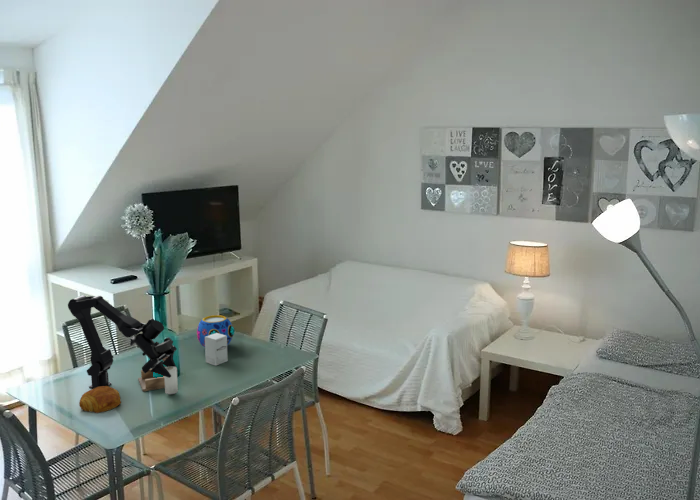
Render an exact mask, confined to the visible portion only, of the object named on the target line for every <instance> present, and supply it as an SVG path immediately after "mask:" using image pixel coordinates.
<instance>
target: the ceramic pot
mask: <svg viewBox="0 0 700 500" xmlns="http://www.w3.org/2000/svg"><path fill="white" fill-rule="evenodd" d="M215 333H219V334H223V335H226V336H227V346H228V345H230V343H231V341H232V340H233V336H234V335H235V328H234V326H233V324H232V322H231V321H230V319H229V318H228V317H227V316H224V315H220V314H219V315H216V314H214V315H209V316H205V317H203V318H201V320H200V321H199V323H198V326H197V328H196V338H197V341H198V342H199V343H200V345H201V346H202V347H203V348H205V337H206V336H209V335H212V334H215Z"/></svg>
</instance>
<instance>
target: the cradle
mask: <svg viewBox="0 0 700 500" xmlns="http://www.w3.org/2000/svg"><path fill="white" fill-rule="evenodd" d="M151 370H152V369H150V371H151ZM150 371H148V372H147V373H146V374H145V373H144V372H143V371H142V369H140V376H141V377H138V378H137V381H138V383H139V385H140V388H141V391H142V392H148V391H154V390H156V391H157V390H160V389H165V379H164V376H163V377H157V378H155V377H153V372H150Z"/></svg>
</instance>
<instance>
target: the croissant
mask: <svg viewBox="0 0 700 500" xmlns="http://www.w3.org/2000/svg"><path fill="white" fill-rule="evenodd" d="M120 404H122V401H121V395H120V392H119V391H118V390H117V389H115V388H114V387H111V386H110V385H109V386H100V387H97V388H90V390H89V389H88V390H87V391H86V392H84V393H83V394H82V395H81V398H80V400H79V404H78V405H79V407H80V408H81V410H82V411H85V412H91V413H92V412H93V413H95V414H99V413H104V412H108V411H111V410H113V409H115V408H117V407H118V406H120Z"/></svg>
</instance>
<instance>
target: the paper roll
mask: <svg viewBox="0 0 700 500" xmlns="http://www.w3.org/2000/svg"><path fill="white" fill-rule="evenodd" d="M164 367H165V368H166V369H167V371H168V372H169V373H170V375H171V377H170V378H169V377H166V376H164V379H165V388H164V393H165V394H166V395H175V394H177V393H178V391H179V389H178V387H179V385H178V372H177V370H178V368H177V366H176V367H175V366H168V367H167V366H164Z"/></svg>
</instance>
